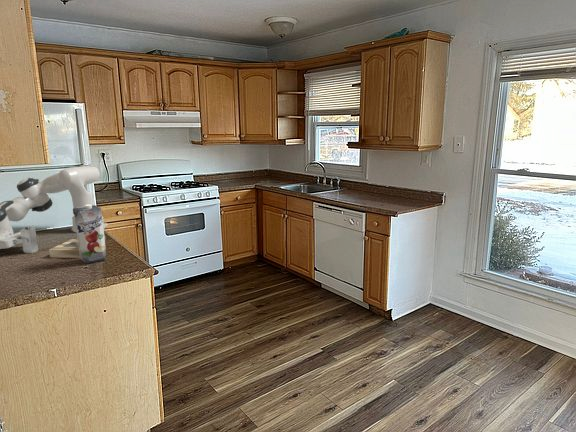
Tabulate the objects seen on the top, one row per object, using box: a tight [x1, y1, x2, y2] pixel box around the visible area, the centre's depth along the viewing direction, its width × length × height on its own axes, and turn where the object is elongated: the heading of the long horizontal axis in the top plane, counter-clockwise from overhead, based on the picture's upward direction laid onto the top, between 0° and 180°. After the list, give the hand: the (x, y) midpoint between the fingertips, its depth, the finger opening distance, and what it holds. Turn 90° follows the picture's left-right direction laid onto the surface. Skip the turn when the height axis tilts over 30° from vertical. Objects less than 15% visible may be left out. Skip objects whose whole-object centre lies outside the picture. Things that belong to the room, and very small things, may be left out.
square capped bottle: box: [19, 225, 39, 254], centre depth 202 cm, size 4×4×13 cm
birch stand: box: [48, 238, 81, 259], centre depth 201 cm, size 18×16×8 cm
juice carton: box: [74, 204, 107, 265], centre depth 186 cm, size 9×10×27 cm
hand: (31, 239), depth 202 cm, fingers closed on square capped bottle, 4 cm apart
